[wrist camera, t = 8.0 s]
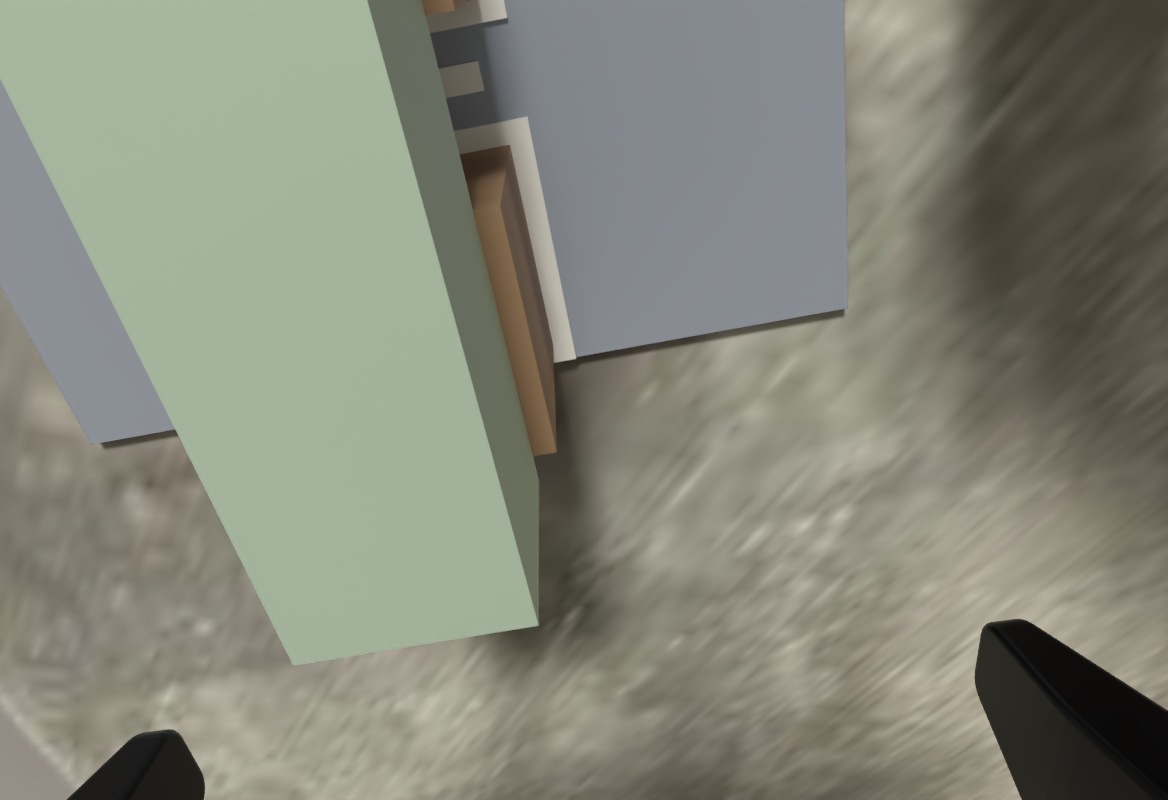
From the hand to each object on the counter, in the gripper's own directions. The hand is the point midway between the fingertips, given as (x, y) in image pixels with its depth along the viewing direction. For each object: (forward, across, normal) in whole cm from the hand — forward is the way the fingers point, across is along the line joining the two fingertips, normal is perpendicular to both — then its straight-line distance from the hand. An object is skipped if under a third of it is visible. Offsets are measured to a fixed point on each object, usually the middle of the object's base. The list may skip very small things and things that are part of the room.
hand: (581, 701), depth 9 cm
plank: (+7, +3, -5) cm, 9 cm away
